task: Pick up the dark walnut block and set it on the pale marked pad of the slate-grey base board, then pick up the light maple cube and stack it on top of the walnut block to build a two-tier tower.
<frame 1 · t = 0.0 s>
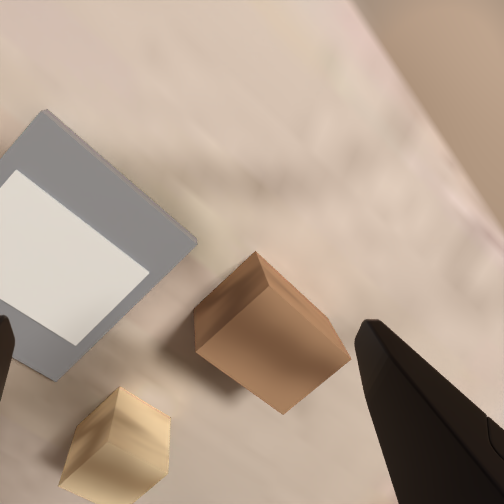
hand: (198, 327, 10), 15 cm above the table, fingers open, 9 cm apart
base board: (54, 258, 25), on the table
walnut block: (262, 312, 29), on the table
maple cube: (124, 421, 31), on the table
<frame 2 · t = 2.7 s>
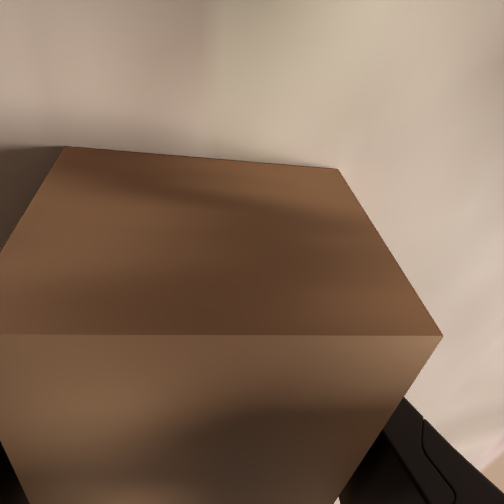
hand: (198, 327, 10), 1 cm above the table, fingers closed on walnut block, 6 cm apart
walnut block: (198, 290, 11), on the table, touching gripper
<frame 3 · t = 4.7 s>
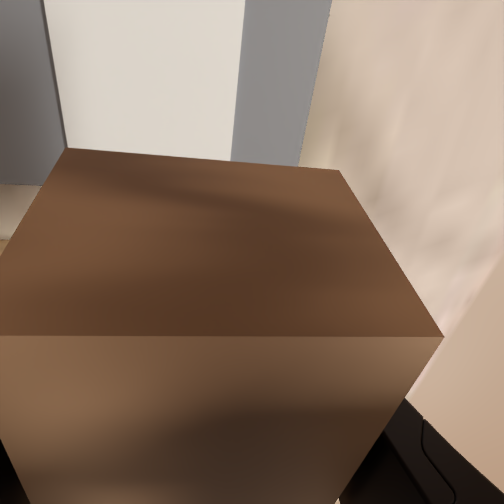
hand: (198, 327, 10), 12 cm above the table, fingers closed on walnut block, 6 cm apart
base board: (151, 65, 17), on the table
walnut block: (198, 291, 11), point 10 cm above the table, touching gripper
when the fingers open (4 cm above the table, at t = 6.9 s): walnut block drops 1 cm, resting on base board.
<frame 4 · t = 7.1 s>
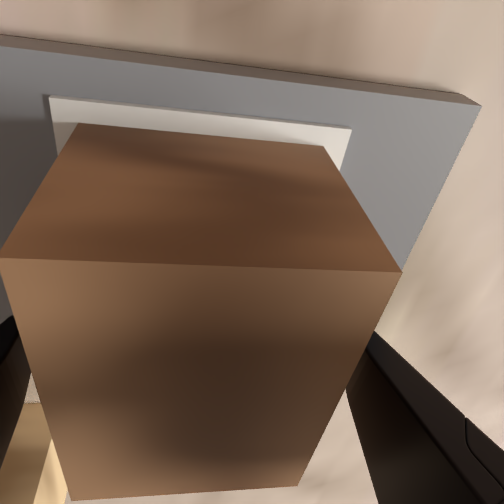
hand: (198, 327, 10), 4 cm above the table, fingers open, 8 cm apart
base board: (197, 239, 13), on the table
walnut block: (197, 260, 12), point 1 cm above the table, touching base board
maple cube: (13, 431, 19), on the table
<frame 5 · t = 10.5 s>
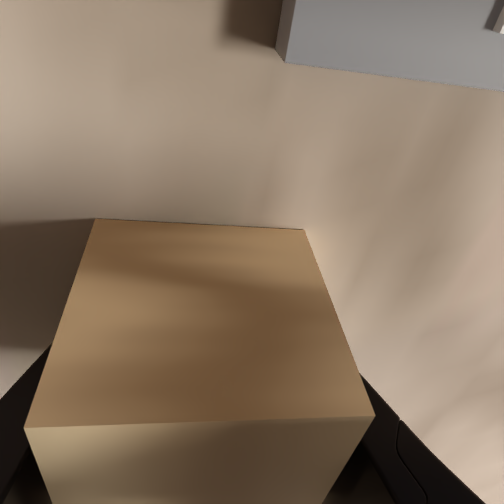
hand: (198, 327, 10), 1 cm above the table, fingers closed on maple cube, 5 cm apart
maple cube: (198, 298, 11), on the table, touching gripper
when the fingers open (8 cm above the table, at t = 14.2 s): maple cube drops 1 cm, resting on walnut block.
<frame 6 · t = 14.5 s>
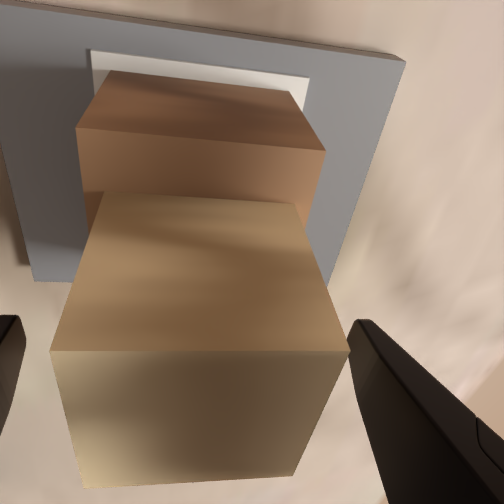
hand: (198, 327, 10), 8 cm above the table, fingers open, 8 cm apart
base board: (196, 174, 17), on the table
walnut block: (196, 185, 16), point 1 cm above the table, touching base board, maple cube
maple cube: (197, 269, 12), point 6 cm above the table, touching walnut block
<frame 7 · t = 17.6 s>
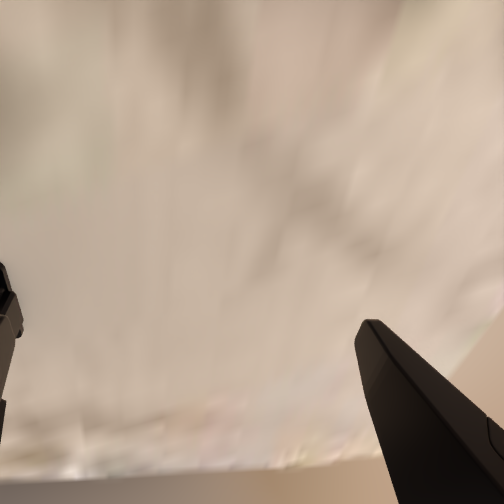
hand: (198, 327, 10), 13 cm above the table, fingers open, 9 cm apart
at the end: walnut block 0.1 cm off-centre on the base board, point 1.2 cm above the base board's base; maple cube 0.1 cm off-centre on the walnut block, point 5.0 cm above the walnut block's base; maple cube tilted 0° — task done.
